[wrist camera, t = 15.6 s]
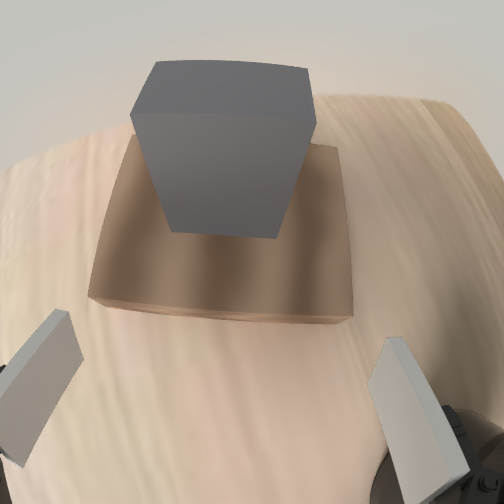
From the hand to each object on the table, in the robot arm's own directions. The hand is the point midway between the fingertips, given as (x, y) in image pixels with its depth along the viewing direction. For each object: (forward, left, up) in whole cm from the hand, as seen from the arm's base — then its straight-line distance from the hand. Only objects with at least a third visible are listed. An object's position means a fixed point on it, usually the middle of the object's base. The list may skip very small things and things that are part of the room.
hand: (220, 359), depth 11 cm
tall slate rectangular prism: (+1, -11, -9) cm, 14 cm away
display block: (+1, -11, -13) cm, 17 cm away
